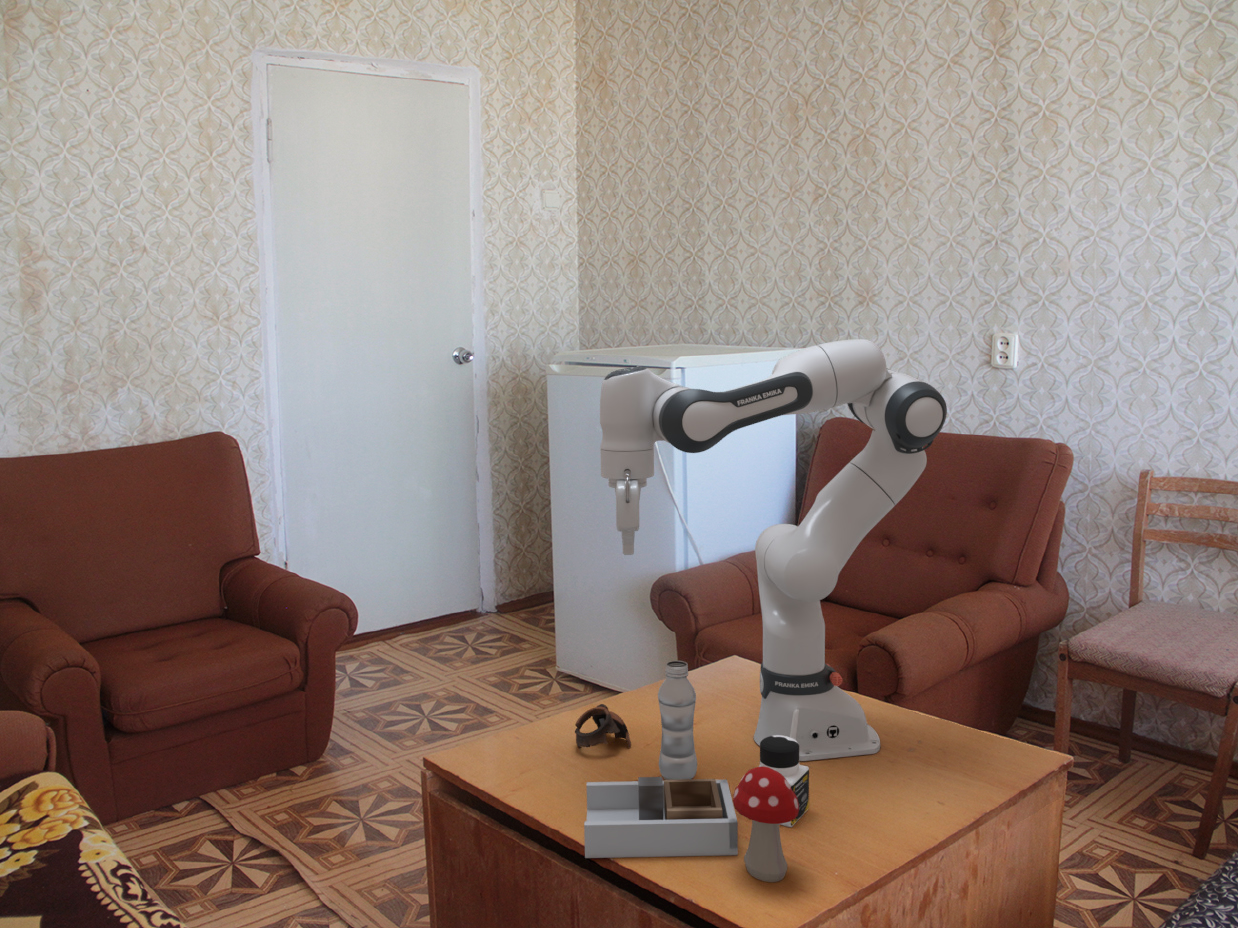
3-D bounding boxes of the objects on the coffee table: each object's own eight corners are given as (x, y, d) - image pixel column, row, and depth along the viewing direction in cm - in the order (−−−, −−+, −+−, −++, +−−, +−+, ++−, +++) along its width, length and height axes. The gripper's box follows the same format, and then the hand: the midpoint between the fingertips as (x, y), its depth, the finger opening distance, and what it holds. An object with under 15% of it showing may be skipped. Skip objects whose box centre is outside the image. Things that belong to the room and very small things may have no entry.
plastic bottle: (671, 790, 170) (670, 673, 167) (651, 774, 176) (649, 661, 173) (705, 781, 173) (704, 666, 170) (684, 766, 179) (683, 655, 176)
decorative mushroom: (812, 878, 143) (813, 775, 141) (763, 896, 138) (763, 790, 136) (767, 847, 151) (767, 749, 149) (719, 863, 147) (719, 763, 145)
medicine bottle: (791, 828, 157) (792, 752, 155) (748, 817, 161) (748, 743, 159) (809, 809, 163) (810, 736, 161) (767, 798, 167) (767, 727, 165)
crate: (715, 807, 161) (715, 765, 160) (722, 841, 151) (722, 795, 150) (638, 809, 161) (637, 766, 160) (640, 842, 151) (639, 797, 150)
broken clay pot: (638, 756, 185) (617, 724, 182) (591, 779, 186) (569, 747, 182) (629, 715, 196) (610, 684, 193) (585, 737, 197) (565, 706, 193)
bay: (727, 809, 163) (726, 779, 162) (737, 854, 149) (737, 822, 149) (587, 812, 163) (586, 782, 162) (585, 857, 149) (584, 825, 148)
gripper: (647, 474, 161) (648, 561, 163) (645, 457, 181) (646, 535, 183) (606, 475, 161) (608, 562, 163) (609, 458, 181) (610, 535, 183)
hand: (628, 547), depth 173 cm, fingers open, 8 cm apart
